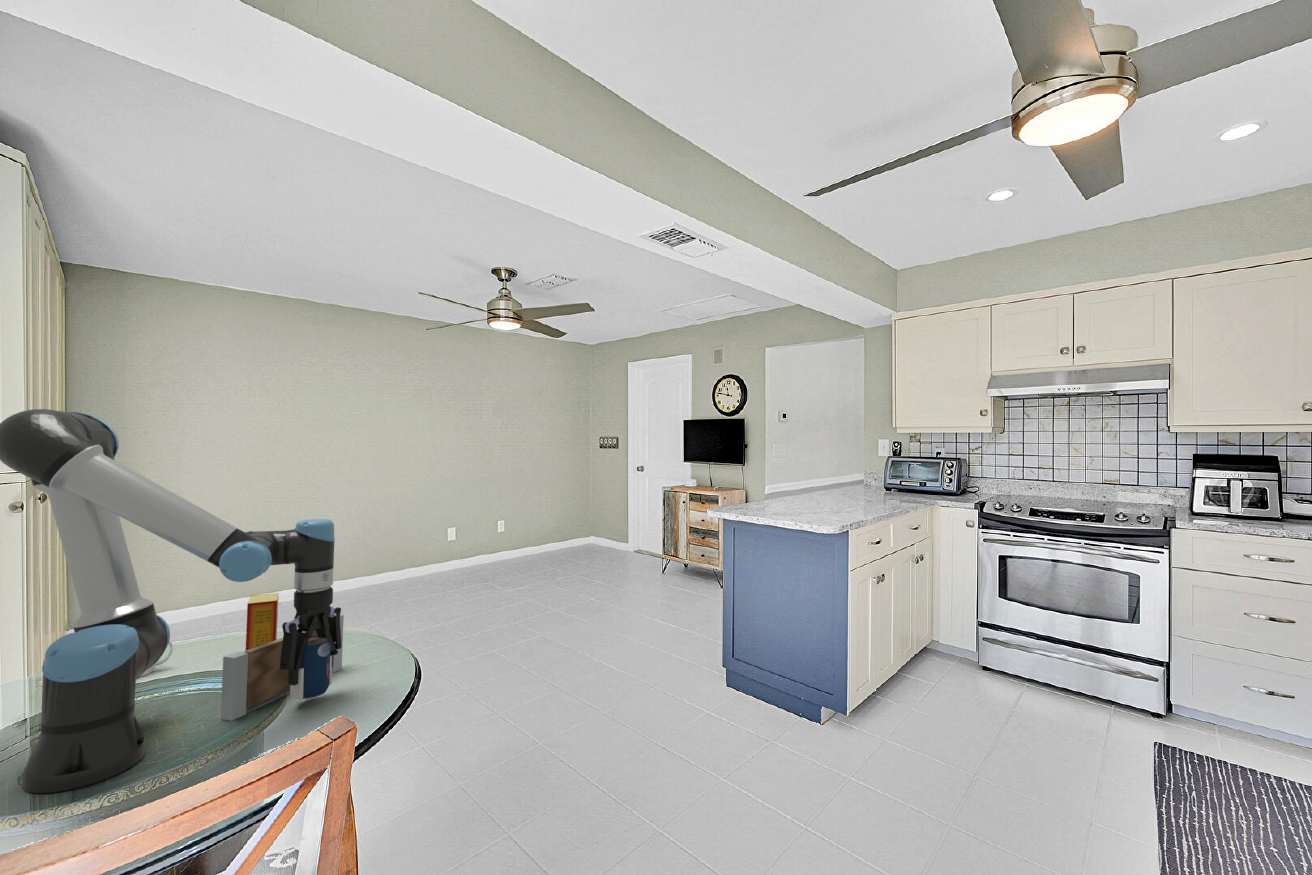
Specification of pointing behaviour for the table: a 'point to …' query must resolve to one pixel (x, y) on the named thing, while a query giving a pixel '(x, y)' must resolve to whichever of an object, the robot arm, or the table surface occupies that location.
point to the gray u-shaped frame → (237, 683)
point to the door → (266, 672)
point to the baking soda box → (261, 620)
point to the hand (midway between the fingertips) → (311, 690)
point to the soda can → (316, 667)
